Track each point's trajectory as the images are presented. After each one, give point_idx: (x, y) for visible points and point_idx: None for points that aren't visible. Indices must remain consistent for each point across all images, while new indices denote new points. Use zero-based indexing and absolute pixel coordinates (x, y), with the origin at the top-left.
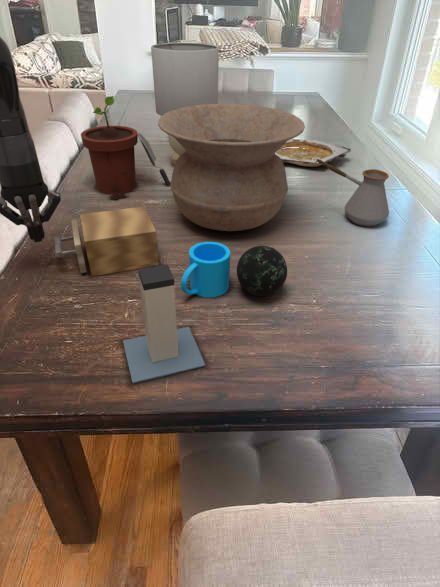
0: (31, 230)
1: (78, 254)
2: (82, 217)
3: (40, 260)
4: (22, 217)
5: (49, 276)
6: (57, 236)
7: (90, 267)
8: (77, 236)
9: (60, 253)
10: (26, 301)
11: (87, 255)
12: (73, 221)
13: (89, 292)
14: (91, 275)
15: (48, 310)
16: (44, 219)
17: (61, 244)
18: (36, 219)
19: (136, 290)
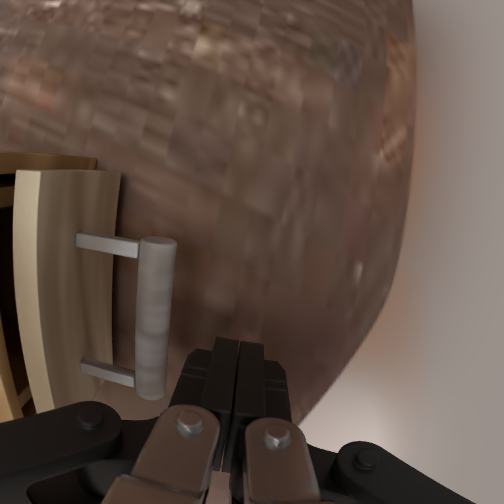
0: (262, 395)
1: (67, 170)
2: (7, 416)
3: None
4: (321, 499)
5: (243, 231)
6: (145, 398)
7: (74, 156)
8: (20, 273)
9: (147, 239)
10: (351, 102)
11: (40, 154)
12: None
13: (131, 62)
14: (94, 159)
15: (286, 19)
16: (107, 425)
17: (135, 332)
18: (181, 453)
19: (24, 44)
